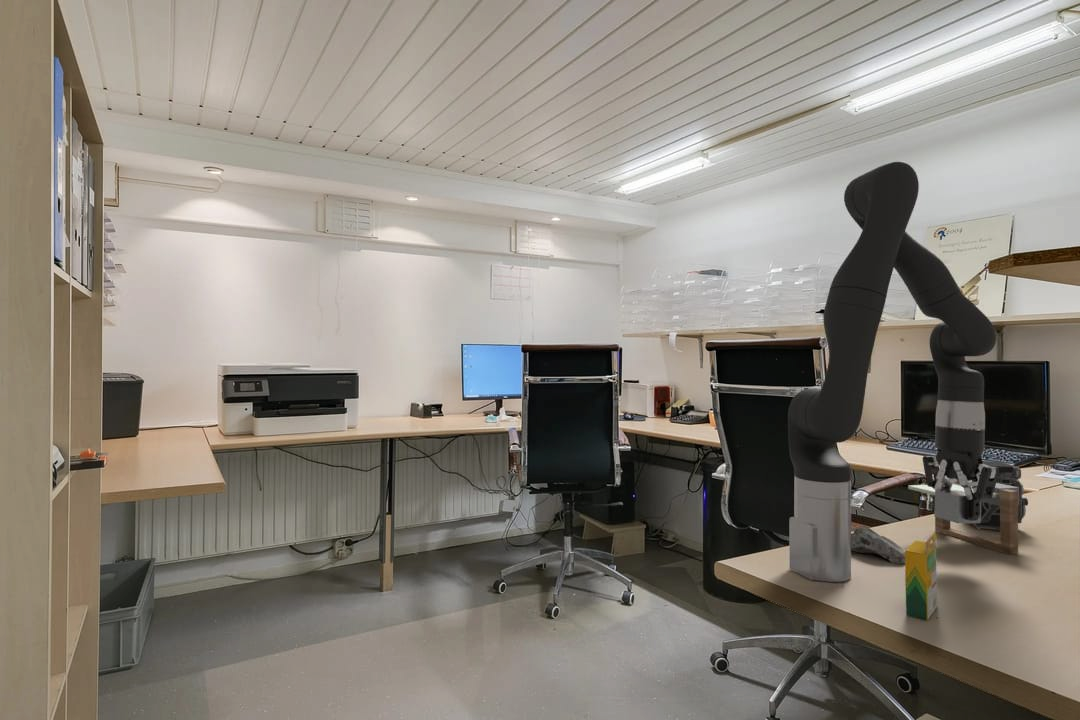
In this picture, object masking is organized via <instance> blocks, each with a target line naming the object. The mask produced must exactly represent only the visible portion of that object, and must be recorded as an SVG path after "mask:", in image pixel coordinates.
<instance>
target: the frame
mask: <svg viewBox="0 0 1080 720" xmlns="http://www.w3.org/2000/svg"><path fill="white" fill-rule="evenodd" d="M934 519H935V520H934V526H935V527H934V530H937V531H936V532H938V531H939V532H938V533H941V532H942V533H941V534H944V533H945V534H944V535H947V534H948V536H950V535H951V537H953V536H954V538H956V537H957V538H956V539H960V540H963V541H967V542H970V543H973V544H975V543H976V545H978V544H979V545H978V546H982V547H985V548H988V549H991V550H995V551H998V552H1001V553H1005V554H1006V555H1007V554H1008V555H1019V523H1018V491H1014V490H1009V489H1003V490H1000V530H999V533H1000V534H999V535H1000V538H999V540H1000V541H999V542H997V541H993V540H989V539H987V538H984V537H981V536H977V535H973V534H971V533H967V532H963V531H961V530H959V529H958V530H957V529H954V528H951V521H948V520H945V519H941V518H938V517H935V516H934Z"/></svg>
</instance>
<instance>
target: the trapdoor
mask: <svg viewBox="0 0 1080 720" xmlns="http://www.w3.org/2000/svg"><path fill="white" fill-rule="evenodd" d="M969 482H972V480H970V481H969ZM971 488H972V487H971ZM907 489H908V490H912V491H916V492H919V493H924V494H927V495H931V496H935V489H934V488H932V487H929V486H927V484H913V485H911V484H910V485H908V486H907ZM1003 489H1009V490H1014V491H1018V505H1019V487H1014V486H1009V485H1004V484H1000V483H996V486H995V489H994V493H993V497H992V498H991V499H982V500H981V502H985V503H990V504H994V505H998V506H1000V490H1003ZM951 490H959V491H963V492H964V488H963V487H961V485H960V482H959V480H956V482H954V483H953V485H952V487H951ZM972 491H973V489H972ZM973 493H974V492H973Z"/></svg>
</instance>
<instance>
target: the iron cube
mask: <svg viewBox="0 0 1080 720" xmlns="http://www.w3.org/2000/svg"><path fill="white" fill-rule="evenodd" d="M965 499H967V498H966V495H965V492H963V491H959V490H935V495H934V513H933V514H934V518H935V517H938V518H941V519H945V520H948V521H950V522H952V523H955V524H972V523H981V501H980V517H979V518H978V519H977V520H976V521H969V520H966V519H965Z"/></svg>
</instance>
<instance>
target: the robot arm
mask: <svg viewBox="0 0 1080 720" xmlns="http://www.w3.org/2000/svg"><path fill="white" fill-rule="evenodd" d="M918 178H919V177H918V175H917V172H916V171H915V169H914V168H913V167H912V165H910V163H907V162H904V161H900V160H899V161H892V162H888V163H884V164H883V165H880V166H877V167H876V168H873V169H871V170H869V171H867V172H865V173H863V174H862V175H858V176H857V177H855V178H853V179H852V180H851V181H850V182H848V184H847V186H846V187H845V189H844V190H845V191H844V194H843V201H844V205H845V209H846V210H847V212H848V214H849V215H850V216H851V218H852V219H853V221H855V224H857V225H858V226H859V228H860V229H861V230H862V231H861V233H860V236H859V237H858V239H857V240H856V243H855V244H854V246H853V248H852V249H851V250H850V252H849V254H848V255H847V257H846V258H845V259H844V260H843V262H842V263H841V265H840V266H839V268H838V270H837V272H835V275H834V277H833V279H832V281H831V283H830V284H831V285H830V287H829V289H828V290H829V291H828V293H827V294H828V295H827V298H826V301H825V304H824V305H825V306H824V309H823V318H822V320H823V327H824V333H825V337H826V343H827V349H828V363H827V369H826V373H825V375H824V376H825V377H824V380H823V383H822V386H821V388H805V389H803V390H801V391H799V392H798V393H796V394H795V395H794V396H793V398H792V400H791V401H790V404H789V408H788V412H787V430H788V432H787V433H788V450H789V452H788V453H789V457H790V461H791V464H792V465H793V475H794V478H793V479H794V486H793V487H794V491H793V492H794V493H793V496H794V497H793V498H794V499H793V501H794V505H793V509H794V511H793V513H794V516H791V517H789V521H788V522H789V525H788V527H789V528H788V529H789V534H788V535H789V536H788V537H789V541H788V542H789V570H790V571H793V572H795V573H796V574H799V575H801V576H802V577H804V578H806V579H808V580H810V581H823V582H830V583H831V582H832V583H833V582H834V583H835V582H836V583H841V582H846V581H848V580H850V579H852V550H851V533H852V469H851V465H850V463H849V462H848V461H847V460H846V459H844V457H842V455H841V454H840V452H839V450H838V448H837V443H843V442H846V441H848V440H849V439H851V438H852V437H853V436H854V435H855V433H856V432H857V430H858V429H859V426H860V423H861V420H862V415H863V409H864V402H865V396H866V395H865V394H866V387H867V380H868V373H869V368H870V363H871V359H872V354H873V350H874V347H875V341H876V337H877V333H878V330H879V326H880V323H881V319H882V316H883V312H884V308H885V304H886V300H887V296H888V291H889V290H888V289H889V286H890V282H891V278H892V275H893V271H894V269H895V271H896V273H897V274H898V275H899V277H900V278H901V279H902V281H903V282H904V284H905V286H906V288H907V290H908V292H909V293H910V295H911V296H912V298H913V300H914V301H915V303H916V304H917V306H918V308H919V310H920V312H921V313H922V314H923V315H925V316H926V317H928V318H932V319H936V320H937V319H938V320H940V321H941V322H939V323H938V324H935V326H934V327H933V329H932V331H931V333H930V335H929V336H930V337H929V350H930V353H931V358H932V362H933V366H934V370H935V372H936V374H937V375H936V376H937V379H938V380H937V381H938V383H937V404H936V410H935V427H934V428H935V430H934V432H935V434H934V447H935V448H936V449H937V453H936V454H935V455H923V456H922V463H923V469H924V476H925V481H926V485H927V486H929V487H932V488H934V489H935V490H951V487H952V485H953V483H957V480H959V482H960V485H961V487H963V488H964V492H965V495H966V498H967V499H965V519H966V520H969V521H976V520H977V519H978V518H979V517H980V501H981V500H982V499H991V498H992V497H993V493H994V489H995V486H996V482H997V478H998V475H999V469H998V468H997V467H990V466H988V465H985V464H984V463H983V461H984V460H983V458H982V453H983V452H985V438H986V437H985V435H986V434H985V432H986V412H985V411H986V410H985V403H984V402H985V400H984V399H985V378H984V375H983V373H982V372H980V371H978V370H975V369H971V368H970V367H969V366H968V363H967V361H966V357H981V356H984V355H987V354H989V353H991V352H992V350H993V349H994V348H995V346H996V343H997V332H996V330H995V326H994V325H993V323H992V321H991V320H990V319H989V317H988V316H986V315H985V313H984V312H982V311H981V310H980V309H979V307H977V306H976V305H975V304H974V303H973V302H972V301H971V300H970V299H969V298H968V297H967V296H965V295H964V294H963V293H962V291H961V289H960V287H959V286H958V285H959V284H958V283H957V282H956V280H955V278H954V276H953V275H952V272H951V271H950V270H949V268H948V267H947V266H946V264H945V263H944V262H943V260H941V258H940V257H938V255H936V254H935V253H933V252H932V251H931V250H930V249H928V248H927V247H925V246H924V245H923V244H921V243H919V242H918V241H917V240H916V239H914V238H913V236H911V235H910V234H909V233H908V232H907V231H906V229H907V227H908V224H909V222H910V218H911V216H912V214H913V212H914V209H915V206H916V204H917V203H916V202H917V200H918V195H919V190H920V189H919V188H920V185H919V183H920V182H919V179H918ZM979 471H980V472H979ZM978 472H979V473H978ZM978 474H979V475H980V478H979V475H978ZM970 480H972V482H969V481H970ZM971 487H972V488H971ZM972 489H973V491H972ZM973 492H974V493H973Z"/></svg>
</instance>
